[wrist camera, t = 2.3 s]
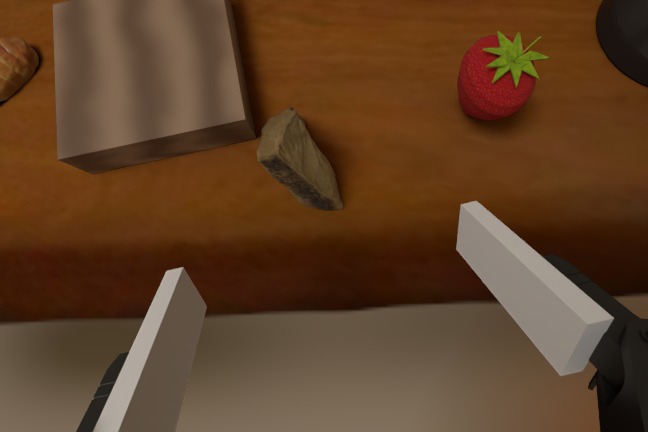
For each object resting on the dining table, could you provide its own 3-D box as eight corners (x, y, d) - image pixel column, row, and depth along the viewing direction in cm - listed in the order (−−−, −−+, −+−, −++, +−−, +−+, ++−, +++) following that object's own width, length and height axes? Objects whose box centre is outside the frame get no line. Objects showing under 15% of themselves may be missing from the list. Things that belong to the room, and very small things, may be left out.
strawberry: (484, 75, 32) (550, -13, 23) (506, 136, 31) (586, 72, 21) (432, 85, 32) (475, 2, 23) (451, 147, 31) (506, 87, 21)
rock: (252, 98, 30) (225, 184, 27) (295, 45, 23) (265, 153, 20) (333, 145, 36) (319, 222, 33) (387, 114, 29) (375, 207, 26)
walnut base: (231, 3, 35) (218, -30, 31) (256, 138, 32) (245, 119, 28) (84, 34, 35) (52, 4, 31) (92, 174, 31) (57, 159, 27)
